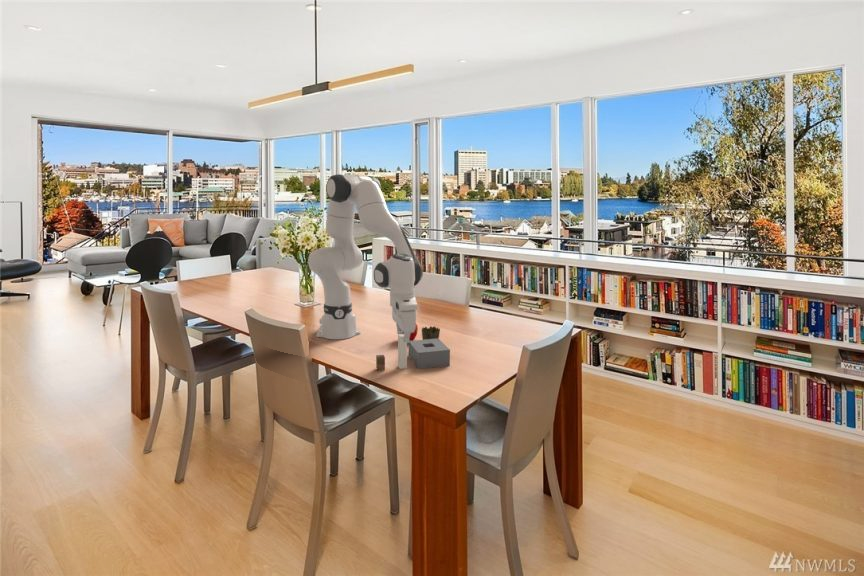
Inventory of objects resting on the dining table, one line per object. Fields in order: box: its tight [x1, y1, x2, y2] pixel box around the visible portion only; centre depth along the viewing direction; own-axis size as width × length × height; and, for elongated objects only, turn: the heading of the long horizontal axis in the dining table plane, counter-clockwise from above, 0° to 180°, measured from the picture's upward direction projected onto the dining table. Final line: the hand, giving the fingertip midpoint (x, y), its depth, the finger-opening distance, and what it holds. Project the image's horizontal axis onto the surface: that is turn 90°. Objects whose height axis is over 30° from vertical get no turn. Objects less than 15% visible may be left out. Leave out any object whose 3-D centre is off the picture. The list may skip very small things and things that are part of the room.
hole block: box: [408, 338, 451, 370], centre depth 177 cm, size 14×12×6 cm
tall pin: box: [397, 334, 408, 370], centre depth 170 cm, size 3×3×12 cm
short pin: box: [375, 354, 386, 372], centre depth 168 cm, size 3×3×5 cm
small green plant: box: [421, 325, 441, 340], centre depth 191 cm, size 8×7×8 cm
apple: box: [403, 323, 419, 341], centre depth 200 cm, size 9×9×8 cm
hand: (403, 338), depth 168 cm, fingers open, 8 cm apart
